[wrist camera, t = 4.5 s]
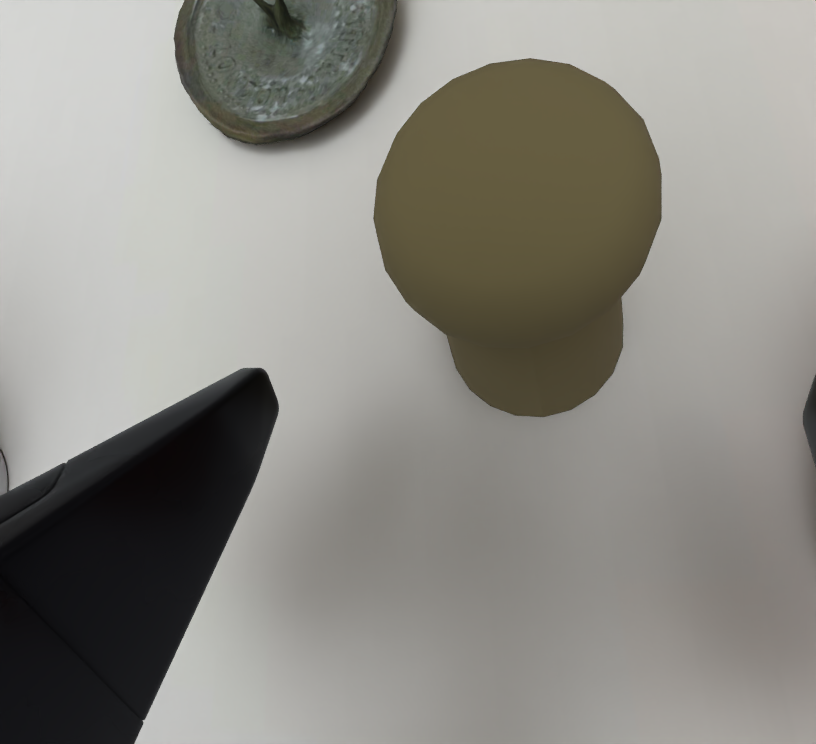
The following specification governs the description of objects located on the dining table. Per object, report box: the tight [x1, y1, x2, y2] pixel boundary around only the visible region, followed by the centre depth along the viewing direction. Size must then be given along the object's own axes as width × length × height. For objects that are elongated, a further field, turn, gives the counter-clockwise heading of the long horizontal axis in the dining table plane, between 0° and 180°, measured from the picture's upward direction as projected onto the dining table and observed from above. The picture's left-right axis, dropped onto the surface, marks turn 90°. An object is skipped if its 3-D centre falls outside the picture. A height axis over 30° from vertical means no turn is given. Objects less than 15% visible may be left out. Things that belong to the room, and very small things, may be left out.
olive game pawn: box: [374, 58, 661, 417], centre depth 14 cm, size 6×6×11 cm
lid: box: [174, 0, 397, 145], centre depth 22 cm, size 11×10×5 cm
